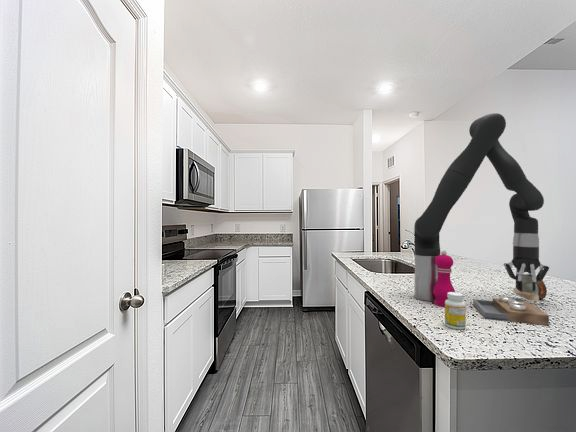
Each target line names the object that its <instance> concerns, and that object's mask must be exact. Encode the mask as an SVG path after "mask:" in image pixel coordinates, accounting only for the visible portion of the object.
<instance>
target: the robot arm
mask: <svg viewBox="0 0 576 432" xmlns="http://www.w3.org/2000/svg"><path fill="white" fill-rule="evenodd" d="M506 127H507V122H506V118H505V116H503V114H501V113H495V112H494V113H493V112H492V113H489V114H485V115H483V116H481V117H479V118H477V119H475V120H473V122H472V123H471V124H470V126H469V129H468V130H469V132H468V133H469V136H470V137H471V139H470V141H469V143H468V145H467V146H466V147H465V148H464V150H462V152H461V153H460V154H459V155H458V156H457V157H456V158H455V159H454V160H453V161H452V162H451V164H450V165H449V166H448V167H447V169H446V170H445V173H444V174H443V176H442V178H441V179H440V182H439V183H438V186H437V188H436V189H435V192H434V196H433V198H432V199H431V202H430V203H429V205H428V206H427V207H426V209H425V210H424V212H422V214H421V215H420V217H418V218H417V219H416V220H415V221H414V237H413V238H414V242H413V244H414V299H415V300H421V301H428V302H435V298H436V296H435V295H434V294H433V289H434V286H435V284H436V282H437V280H438V272H437V271H436V270H437V269H436V268H437V265H436V264H435V258H436V257H437V256H438V255H441V245H440V232H441V230H442V228H443V227H444V226H443V225H444V224H445V223H446V222H445V221H446V219H447V218H448V216H449V213H450V211H451V210H452V208H453V207H454V206H455V205H456V204H457V202H458V201H459V199H460V198H461V197H462V195H463V193H465V191H466V190H467V188H468V187H469V185H470V184H471V182H472V180H473V178H474V176H475V175H476V173H477V171H478V170H479V168H480V166H481V165H482V163H483V161H484V159H485V158H486V157H487V158H488V160H489V162H490V163H491V165H492V166H493V168H494V169H495V171H496V174H497V175H498V177H499V178H500V180H501V182H502V184H503V186H504V188H505V189H506V190H507V191H510V192H511V191H512V192H515V194H512V196H511V197H510V199H509V203H508V205H509V206H508V207H509V210H510V211H509V212H510V213H511V217H512V220H513V223H514V224H513V238H512V259H511V261H510V262H504V263H503V266H504V268H505V270H506V272H507V275H508V276H509V278H510V279H513V280H515V288H516V289H518V291H522V281H521V280H522V276H523V274H524V273H527V274H528V275H530V276H532V292H534V291H535V290H536V282H537V281H544V278H545V276H546V275H547V273H548V272H549V270H550V267H549V266H548V265H544V264H542V263H541V262H540V237H539V220H538V219H537V218H535V217H533V216H532V217H531V215H530V213H529V212H530V211H531V212H532V211H539V210H541V208H542V207H543V206H544V204H545V203H544V202H545V199H544V196H543V194H542V192H541V191H540V190H539V188H537V187H536V186H535V185H534V184H533V182H531V181H529V179H528V178H527V176H526V174H525V172H524V171H523V169H522V167H521V165H520V164H519V162H517V160H516V159H515V158H514V157H513V156H512V155H511V154H509V153H508V151H506V149H505V148H504V147H503V146H502V144H501V143H500V141H499V139H500V138H501V136H502V135H503V133H504V132H505V130H506ZM513 267H514V268H515V269H516V270H515V273H514V271H513ZM537 269H539V271H538V273H536V270H537Z"/></svg>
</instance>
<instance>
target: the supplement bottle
mask: <svg viewBox="0 0 576 432" xmlns="http://www.w3.org/2000/svg"><path fill="white" fill-rule="evenodd" d="M447 297H448V299H447V300H446V301H445V307H444V324H445V325H444V326H446V327H447V328H451V329H454V330H465V329H466V328H467V314H466V312H467V304H466V302H465V301H463V300H464V294H462V293H460V292H456V291H455V292H448V293H447Z"/></svg>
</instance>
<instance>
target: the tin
mask: <svg viewBox="0 0 576 432" xmlns="http://www.w3.org/2000/svg"><path fill="white" fill-rule="evenodd" d="M523 275H528V273H526V274H523ZM547 292H548V291H547V286H546V284H545V282H544V280H542V281H537V282H536V290H535V291H534V292H532V293H534V294H537V295H539V300H540V299H541V300H544V299H545V298H546V296H547V294H548V293H547Z"/></svg>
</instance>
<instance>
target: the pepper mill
mask: <svg viewBox="0 0 576 432" xmlns="http://www.w3.org/2000/svg"><path fill="white" fill-rule="evenodd" d="M435 264H436V265H437V268H436V269H437V270H436V271H437V272H438V280H437V282H436V284H435V286H434V289H433V294H434V295H435V296H436V298H435V301H434V305H436V306H438V307H439V306H440V307H442V308H445V301H446V300H447V299H448V297H447V293H448V292H456V290H455V287H454V285H453V283H452V280H451V273H453V272H452V269H453V268H452V266H454V259H453V257H451V256H450V255H448V254H447V251H446V250H441V251H440V255H438V256H437V257H436V258H435Z"/></svg>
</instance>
